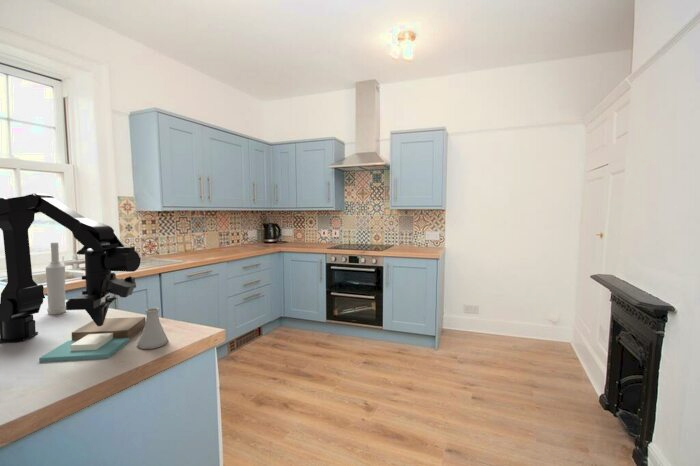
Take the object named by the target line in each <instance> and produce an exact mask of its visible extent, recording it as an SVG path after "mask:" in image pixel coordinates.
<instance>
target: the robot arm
mask: <svg viewBox="0 0 700 466" xmlns="http://www.w3.org/2000/svg"><path fill="white" fill-rule="evenodd" d="M37 213H42V214H44V215H45V216H47V217H48V218H50V219H52V220H53V221H55V222H56V223H57V224H60V225H61V226H63V227H64V228H66V229H68V230H69V231H70V232H71V233H72V236H73V238H74V239H75V240H77V241H78V242H79V244H81V245H82V248H80V249H79V250H78V251H76V255H80V256H81V255H84V272H85V274H84V275H81V280H82V281H83V280H85V289H84V290H82V291H81V293H82V295H76V296H74V297H70V298H69V299H67V301H65V306H66V311H80V310H81V311H82V310H83V311H85V312H86V313H87V314H88V315H89V316H90V318H91V319H92V321H94V322H95V324H96V325H97V326H102V325H103V323H104V320H105V318H106V317H107V313H108V311H109V308H110V306H111V304H113V303H114V302H115V301H116V300H117V299H118V297H112V295H115V296H119V297H120V298H127V297H128V296H131V295H132V294H133V292H134V289H135V288H137V282H136V280H135V279H136V278H135V277H133V276H131V275H130V276H127V277H125V278H117V276H116V273H115V272H133V273H134V272H136V271H137V270H138V269H139V267H140V265H141V257H140V255H139V253H138V252H137V251H136V249H135V246H126V247H125V246H124V245H123V243H122V242H121V240H120V239H119V238H118V236H117V235H116V234H115V229H114V228H113V227H112V226H110V225H108V224H105V223H103V222H100V221H96V220H93V219H89V218H87V217H85V216H83V215H81V214H79V213H78V212H77V211H75V210H73V209H71V208H70V207H69V206H67V205H66V204H64V203H62V202H61V201H59V200H58V199H56V198H55V197H54V195H51V194H47V193H31V194H26V195H23V196H16V197H15V196H14V197H0V229H1V231H2V237H3V247H4V256H5V257H4V258H5V267H6V269H5V270H6V278H7V282H6V285H5V286H4V288H3V289H2V291H1V292H0V343H13V342H15V343H17V342H23V341H24V342H25V341H26V340H28V339H30V338H32V337H34V336H36V335H38V334H39V332H38V331H36V320H35V319H34V314H38V313H39V312H40V309H41V306H42V305H43V303H44V299H46V296H45V293H44V289H45V287H44V285H43V284H37V282H36V281H35V280H34V279H33V271H32V269H33V268H32V261H31V260H32V258H31V250H30V249H31V248H30V238H29V228H31V225H32V224H33V222H34V221H35V214H37ZM111 294H112V295H111Z"/></svg>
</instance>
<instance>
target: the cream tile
mask: <svg viewBox="0 0 700 466" xmlns="http://www.w3.org/2000/svg"><path fill="white" fill-rule="evenodd" d="M111 339H113V333H96V334H88V335H86V336H85V337H83V338H81V339H80V340H78V341H76V342H75V343H73V344H72V345H70V351H81V350H97V349H98V348H100V347H101V346H103V345H104V344H106V343H107V342H108V341H110V340H111Z"/></svg>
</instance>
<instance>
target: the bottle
mask: <svg viewBox="0 0 700 466" xmlns="http://www.w3.org/2000/svg"><path fill="white" fill-rule="evenodd" d="M59 248H60V247H59V242H58V241H57V242H50V251H51V253H50V255H51V256H50V257H51V258H50V259H51V261H50V262H49V263H48V265H47V266H45V278H46V292H47V293H46V295H47V306H48V307H47V308H46V309H47V310H46V312H47V314H48V315H51V316H52V315H59V314H64V313H66V312H67V310H66V265H64V264H63V263H61V261H60V256H59V255H60V253H59V252H60V251H59Z"/></svg>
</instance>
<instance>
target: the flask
mask: <svg viewBox="0 0 700 466" xmlns="http://www.w3.org/2000/svg"><path fill="white" fill-rule="evenodd" d="M144 311H145V313H146V317H145V319H146V323H145V326H144V328H143V329H142V332H141V334H140V337H139V339H138V342H137V345H136V348H139V349H141V350H154V349H157V348H159V347H160V348H161V347H163V346H165V345H166V344H167V343H169V339H168V336H167V334H166V333H165V330H164V328H163V326H162V324H161V322H160V317H159V311H160V308H158V307H150V308H147V309H145V310H144Z"/></svg>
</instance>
